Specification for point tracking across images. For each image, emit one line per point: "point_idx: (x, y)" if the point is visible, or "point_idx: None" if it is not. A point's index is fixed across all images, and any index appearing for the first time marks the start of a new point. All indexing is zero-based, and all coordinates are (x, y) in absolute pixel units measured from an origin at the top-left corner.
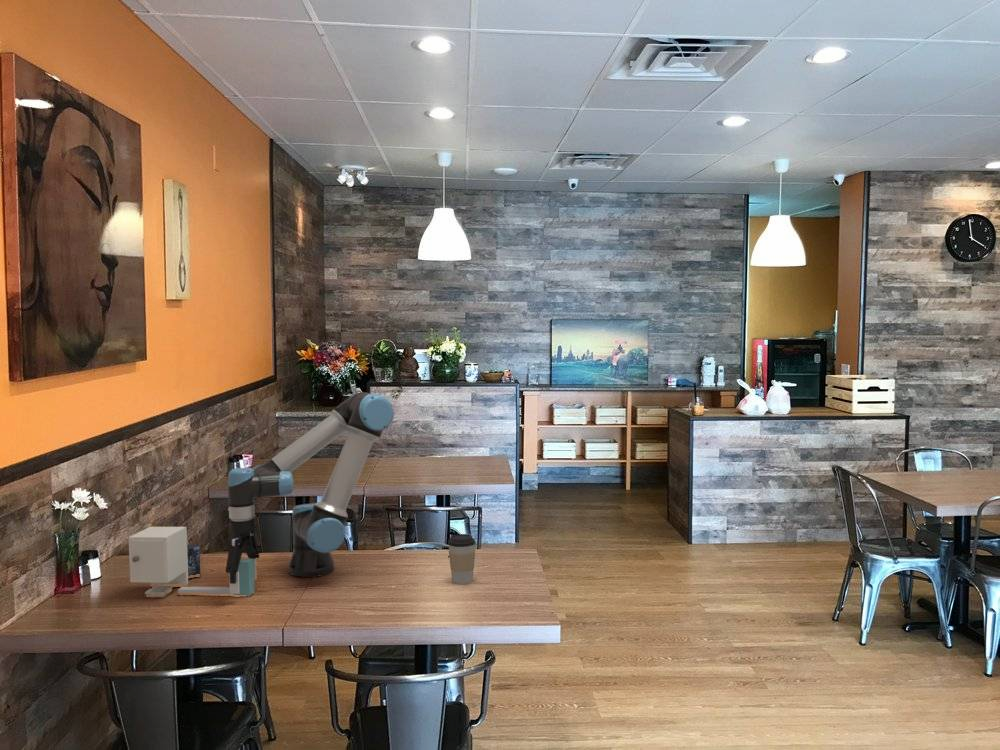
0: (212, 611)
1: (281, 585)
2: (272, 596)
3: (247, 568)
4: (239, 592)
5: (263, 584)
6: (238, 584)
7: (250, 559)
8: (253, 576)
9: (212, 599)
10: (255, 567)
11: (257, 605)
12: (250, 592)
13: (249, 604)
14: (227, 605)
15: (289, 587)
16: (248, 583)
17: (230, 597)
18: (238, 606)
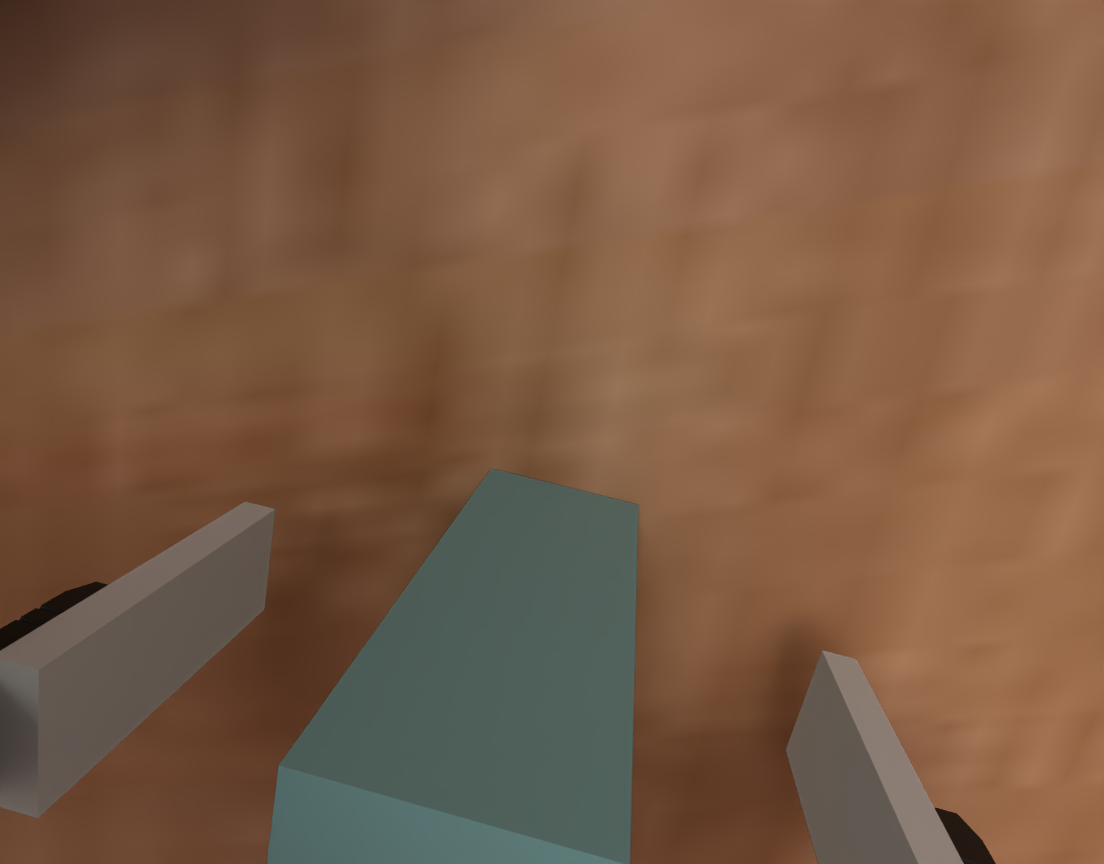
0: (1023, 819)
1: (242, 176)
2: (660, 228)
3: (628, 763)
4: (827, 653)
5: (196, 406)
6: (895, 743)
7: (359, 827)
8: (449, 559)
9: None
10: (161, 585)
11: (978, 372)
12: (603, 513)
13: (905, 473)
14: None
15: (327, 47)
16: (633, 589)
17: None
18: (940, 586)
